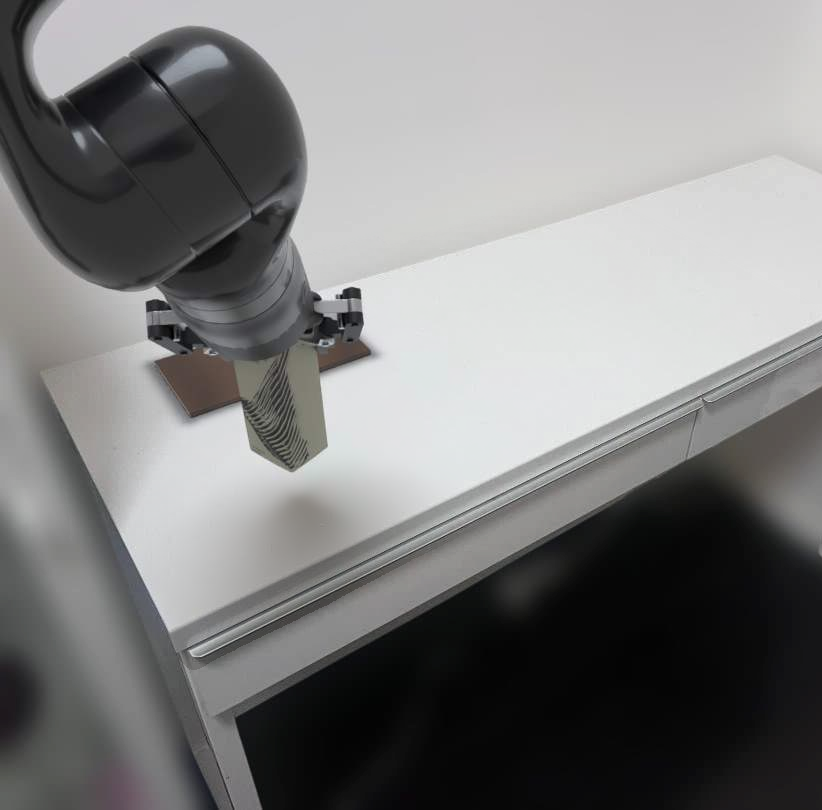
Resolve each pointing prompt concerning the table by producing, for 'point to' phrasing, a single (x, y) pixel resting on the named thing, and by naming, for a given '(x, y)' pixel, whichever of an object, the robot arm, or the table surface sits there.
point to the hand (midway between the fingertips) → (276, 344)
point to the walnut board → (229, 375)
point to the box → (283, 406)
